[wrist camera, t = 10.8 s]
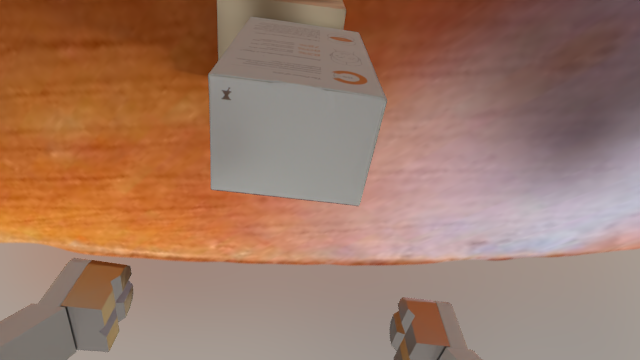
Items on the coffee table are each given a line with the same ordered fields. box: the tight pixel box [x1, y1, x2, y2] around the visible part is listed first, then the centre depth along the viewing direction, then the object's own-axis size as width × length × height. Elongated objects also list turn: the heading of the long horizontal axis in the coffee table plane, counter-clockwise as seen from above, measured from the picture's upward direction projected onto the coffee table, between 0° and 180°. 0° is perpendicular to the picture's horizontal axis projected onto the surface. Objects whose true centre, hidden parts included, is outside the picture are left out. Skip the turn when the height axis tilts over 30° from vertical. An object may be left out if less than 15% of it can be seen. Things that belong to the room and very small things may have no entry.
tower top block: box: [217, 0, 346, 61], centre depth 31 cm, size 9×9×4 cm
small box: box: [208, 17, 387, 206], centre depth 24 cm, size 8×6×13 cm
